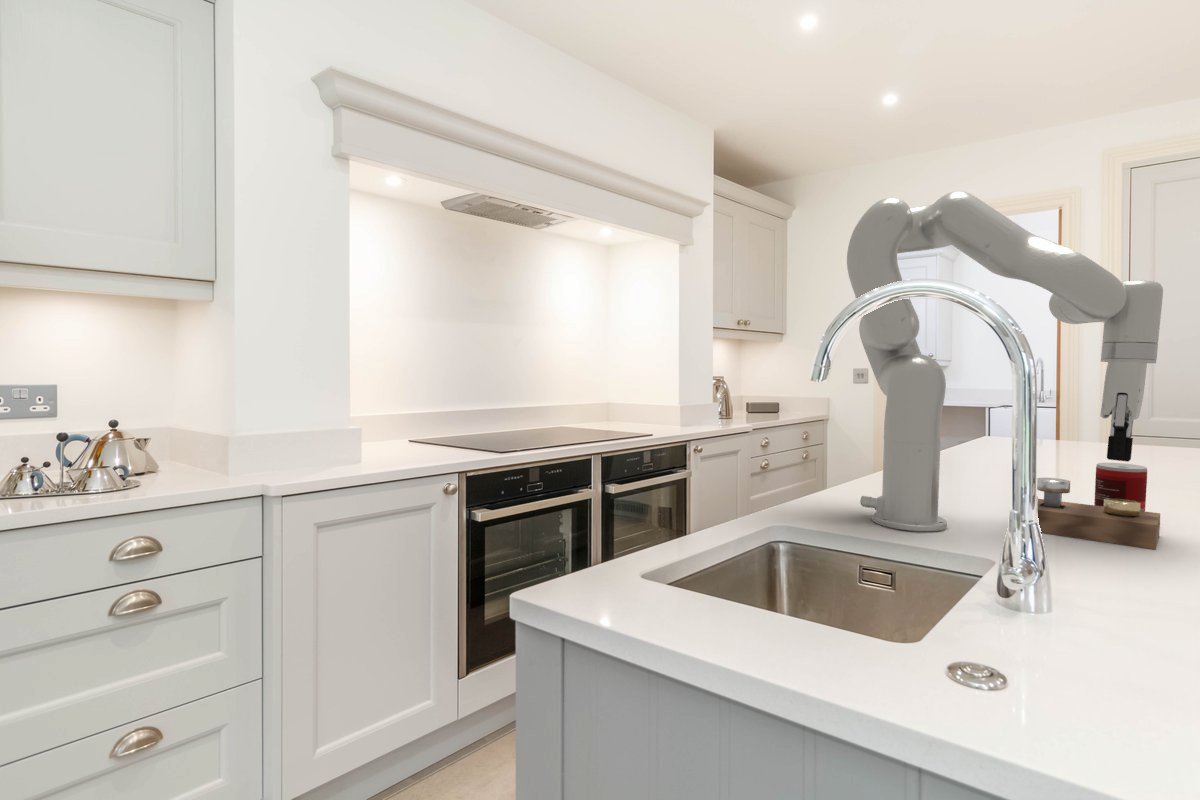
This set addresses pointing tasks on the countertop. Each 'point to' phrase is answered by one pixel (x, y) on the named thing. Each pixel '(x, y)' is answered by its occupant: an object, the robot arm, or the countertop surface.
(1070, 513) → the button block
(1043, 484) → the steel button
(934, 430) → the robot arm
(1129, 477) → the canned food
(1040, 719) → the countertop surface
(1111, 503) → the brass button
